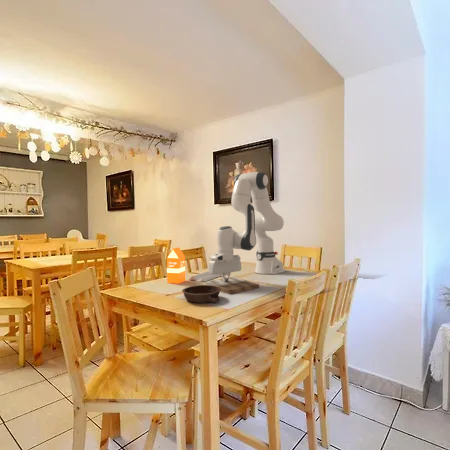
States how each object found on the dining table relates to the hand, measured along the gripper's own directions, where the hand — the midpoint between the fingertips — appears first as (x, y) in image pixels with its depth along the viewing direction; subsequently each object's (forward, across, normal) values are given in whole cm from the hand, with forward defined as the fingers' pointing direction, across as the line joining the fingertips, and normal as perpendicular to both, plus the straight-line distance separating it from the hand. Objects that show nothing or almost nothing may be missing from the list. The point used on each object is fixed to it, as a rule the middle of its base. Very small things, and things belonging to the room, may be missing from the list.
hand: (225, 280), depth 163 cm
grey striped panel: (+2, 0, +1) cm, 2 cm away
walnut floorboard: (+3, 0, +11) cm, 11 cm away
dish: (+3, +24, +14) cm, 29 cm away
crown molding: (+3, -8, -27) cm, 29 cm away
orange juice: (+3, +16, -28) cm, 32 cm away
